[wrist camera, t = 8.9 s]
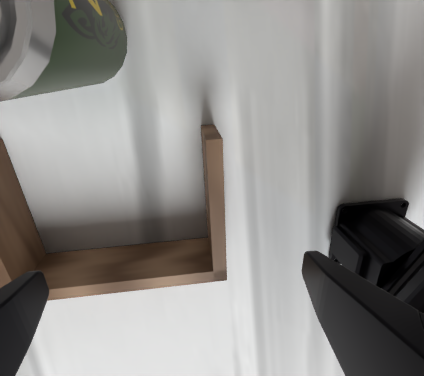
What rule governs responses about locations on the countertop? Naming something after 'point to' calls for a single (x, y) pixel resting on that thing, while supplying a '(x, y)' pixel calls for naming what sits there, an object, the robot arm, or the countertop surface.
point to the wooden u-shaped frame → (115, 256)
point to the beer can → (58, 45)
